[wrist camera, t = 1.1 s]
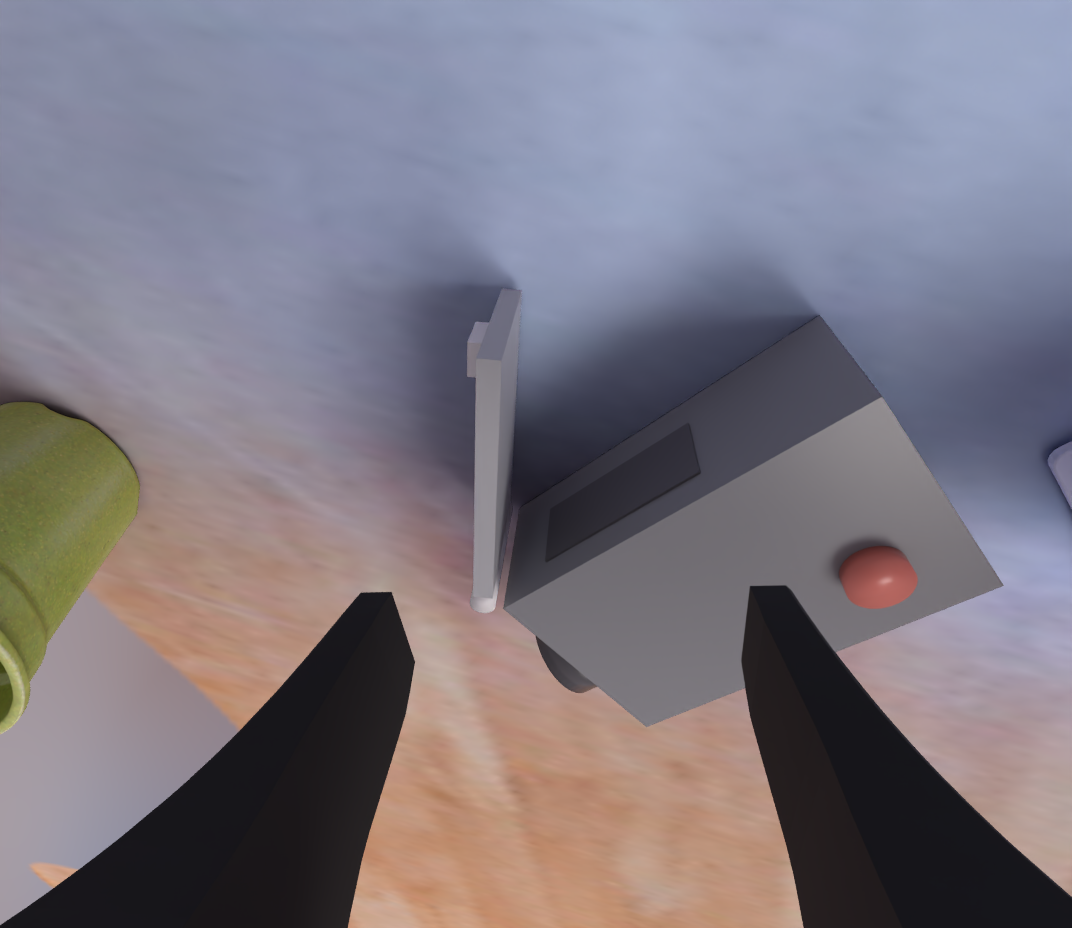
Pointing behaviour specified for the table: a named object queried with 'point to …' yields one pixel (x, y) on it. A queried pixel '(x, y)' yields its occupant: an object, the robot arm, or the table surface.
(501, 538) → the side door
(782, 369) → the camera body
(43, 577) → the plant pot
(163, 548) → the table surface
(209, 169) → the table surface
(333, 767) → the robot arm
